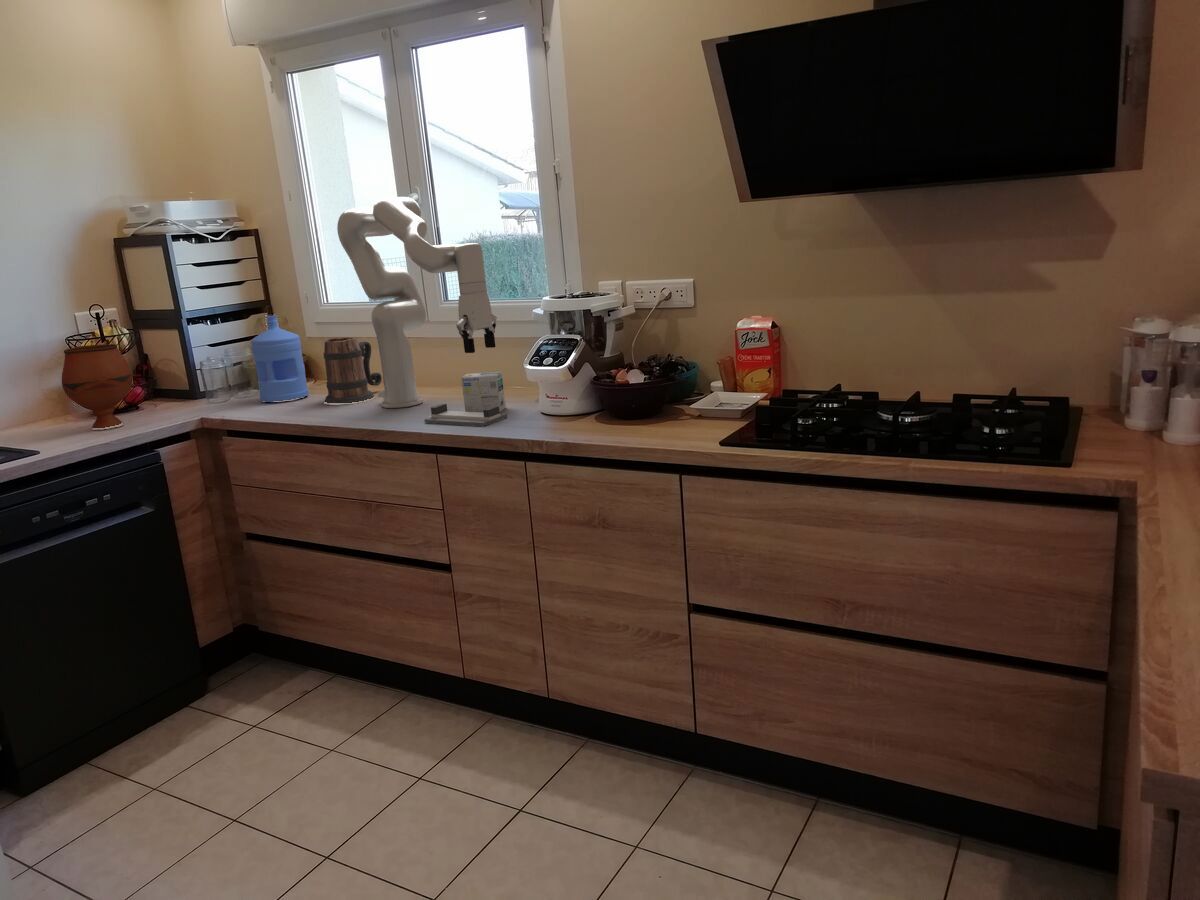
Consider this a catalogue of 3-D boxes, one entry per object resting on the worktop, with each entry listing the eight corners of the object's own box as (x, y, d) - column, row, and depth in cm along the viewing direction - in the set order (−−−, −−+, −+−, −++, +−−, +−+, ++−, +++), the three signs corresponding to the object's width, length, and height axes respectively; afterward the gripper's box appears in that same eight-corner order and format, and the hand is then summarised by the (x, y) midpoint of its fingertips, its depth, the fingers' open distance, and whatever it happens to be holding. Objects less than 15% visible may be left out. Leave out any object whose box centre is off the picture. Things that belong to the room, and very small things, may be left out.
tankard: (350, 406, 272) (340, 342, 267) (311, 404, 280) (301, 342, 275) (400, 391, 292) (392, 332, 287) (362, 390, 300) (354, 332, 295)
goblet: (104, 435, 254) (85, 351, 248) (57, 434, 261) (38, 352, 255) (157, 420, 272) (140, 341, 265) (111, 420, 278) (94, 342, 272)
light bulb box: (506, 407, 253) (502, 370, 250) (501, 412, 246) (497, 375, 243) (470, 409, 254) (466, 372, 251) (464, 414, 247) (460, 377, 245)
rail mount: (424, 423, 239) (423, 409, 238) (449, 414, 248) (448, 401, 247) (483, 426, 230) (482, 412, 229) (507, 417, 239) (505, 403, 238)
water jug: (275, 395, 302) (261, 314, 295) (317, 393, 300) (304, 312, 293) (251, 404, 288) (236, 320, 281) (295, 402, 285) (282, 317, 278)
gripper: (480, 286, 250) (487, 345, 254) (442, 292, 236) (450, 355, 240) (502, 285, 247) (508, 345, 251) (464, 291, 232) (472, 354, 236)
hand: (480, 350), depth 245 cm, fingers open, 9 cm apart
